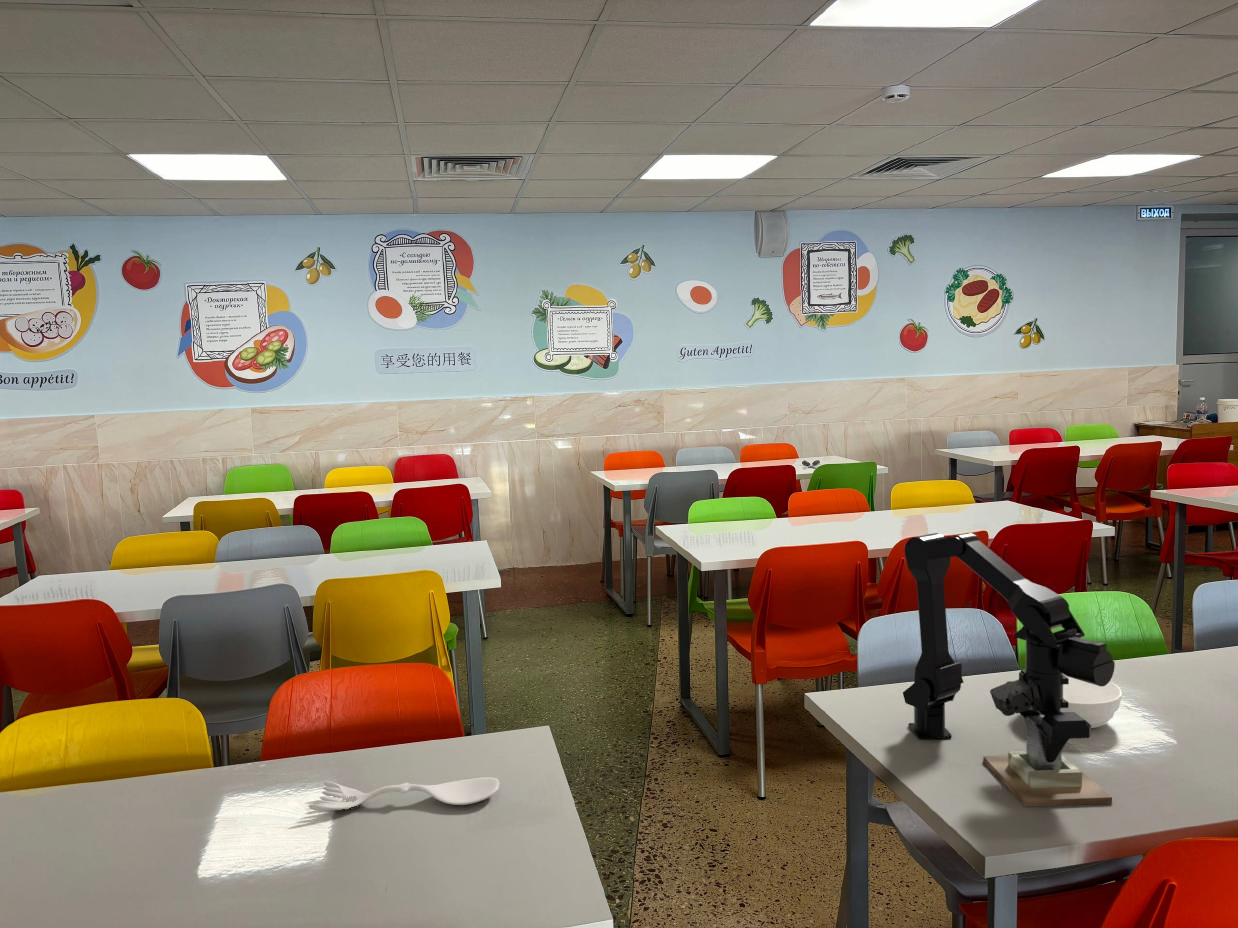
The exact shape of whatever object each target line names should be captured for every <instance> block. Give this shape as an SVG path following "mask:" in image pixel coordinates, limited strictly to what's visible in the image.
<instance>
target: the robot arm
mask: <svg viewBox="0 0 1238 928" xmlns="http://www.w3.org/2000/svg"><path fill="white" fill-rule="evenodd" d="M903 549H904V550H903V551H904V556H905V560H906V566H907V569H908V570H909V572H910V574H911V575H912V577H913V578H914V580H915V581H916V582H915V583H916V593H917V605H918V607H917V609H918V616H919V617H918V619H919V621H918V622H919V633H920V634H919V635H920V646H921V648H920V649H921V654H920V655H919V656H920V657H919V659H918V661H917V663H916V666H915V669H914V680H913V681H914V682H913V684H911V685H910V686H909V687H908V688H906V689H905V690H904V691H903V692H902V694H903V699H904V702H905V704H907V705H909V706H912V707H913V713H914V714H913V722H909V723H907V724H908V725H907V726H908V728H909V729H910V730H911V731H912V732H913V734H914V735H915V736H916V738H918V739H919V740H928V739H929V740H930V739H948V738H949V739H951V738H952V737H953V735H952V734H951V732H950V731H949V730H948V729H947V728H946V704H945V703H948V702H953V701H954V699H955V696H956V695H957V693H959V692H960V690H961V688H962V684H963V683H964V679H963V676H962V671H963V670H962V668H963V665H962V663H961V662H956V661H955V660H954V659H953V658H952V656H951V654H950V652H949V639H948V625H947V624H948V623H947V613H946V612H947V611H946V610H947V609H946V599H945V597H946V596H945V584H944V581H945V578H946V575H947V573H948V570H949V568H950V566H951V558H953V557H956V558H958V559H959V560H960V561H961V562H963V564H965V565H966V566H967V567H969V568H970V570H971V571H973V572H974V573H975V574H977V575H978V576H979V577H980V578H981V579H982V580H983V581H985V583H987V584H988V585H989V586H990V587H991V588H993V589H994V590H995V591H996V592H997V593H999V594H1000V595H1001V596H1002V597H1003V598H1004V599H1005V600H1006V601H1007V603H1008V605H1009V608H1010V610H1011V612H1012V614H1013V616H1015V618H1016V619H1017V620H1018V621H1019V622H1020V624H1022V626H1021V629H1019V630H1017V631H1016V632H1014V633H1013V637H1014V638H1016V639H1018V640H1023V641H1025V669H1020V672H1019V673H1018V679H1016V680H1011V681H1010V680H1009V681H1006V683H1003V684H1001V685H998V686H995V687H993V688H991V689H990V690H989V693H990V695H991V698H992V700H993V703H994V706H995V708H996V709H997V710H999V711H1000V712H1001V714H1003V716H1006V717H1010V716H1014V715H1015V714H1020V716H1022V718H1023V719H1024V722H1025V725H1026V726H1027V716H1032V715H1042V716H1043V718H1042V724H1038V725H1035V727H1036V728H1038V729H1039V730H1040V731H1041V732H1042V733H1043V740H1044V748H1045V755H1046V760H1047V762H1054V761H1055V760H1056V758H1057V756H1058V755H1059V753H1060V752H1061V750H1063V748H1064V747H1065V745H1066V744H1067V742H1068V741H1069V740H1073V739H1074V740H1075V739H1090V738H1091V737H1092V728H1091V725H1090V724H1089V723H1088V722H1087V721H1086V720H1084V719H1083V718H1082V717H1080V716H1079V715H1078V714H1076V713H1075V712H1061V711H1060V708H1068V701H1066V700H1065V699H1064V698H1063V684H1069V678H1067V677H1066V676H1068V677H1071V678H1074V679H1078V680H1081V681H1084V682H1088V683H1091V684H1094V685H1098V686H1105V685H1107V684H1108V683H1109V681H1110V682H1111V679H1112V678H1113V675H1114V671H1115V661H1114V658H1113V656H1112V654H1111V653H1110V651H1108V650H1107V644H1106V643H1105V642H1101V641H1093V640H1089V639H1085V638H1084V637H1085V635H1086V634H1085V633H1084V631H1083V629H1082V628H1081V626H1080V624H1079V622H1077V620H1076V618H1075V616H1074V615H1073V614H1072V612H1071V610H1070V604H1069V603H1068V601H1067V600H1066V599H1065V598H1064V597H1063V596H1062V595H1060V594H1058V593H1056V592H1055V591H1053V590H1052V589H1050V588H1048V587H1046V586H1043V585H1040V584H1037V583H1035V582H1032V581H1031V580H1029V579H1027V578H1025V576H1023V575H1022V574H1021V573H1019V572H1018V571H1017V570H1016V569H1014V568H1013V567H1012V566H1011V565H1010V564H1009V563H1007V562H1006V561H1004V560H1003V559H1002V558H1001V557H1000V556H998V555H997V554H996V553H995V552H994V551H993V550H992V549H990V548H989V547H988V546H987V545H985V544H984V543H983V542H982V541H980V539H979V537H978V536H977V535H976V534H974V533H972V532H971V533H970V532H965V533H961V534H960V533H959V534H957V535H952V536H950V535H949V536H945V535H943V534H942V533H938V532H934V533H929V534H924V535H918V536H913V537H911V538H909V539H908V540H907V542H905V544H904V548H903ZM1057 628H1063V629H1062V630H1058V631H1054V632H1053V631H1052V630H1054V629H1057ZM1063 674H1064V675H1065V676H1064V675H1063Z"/></svg>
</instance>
